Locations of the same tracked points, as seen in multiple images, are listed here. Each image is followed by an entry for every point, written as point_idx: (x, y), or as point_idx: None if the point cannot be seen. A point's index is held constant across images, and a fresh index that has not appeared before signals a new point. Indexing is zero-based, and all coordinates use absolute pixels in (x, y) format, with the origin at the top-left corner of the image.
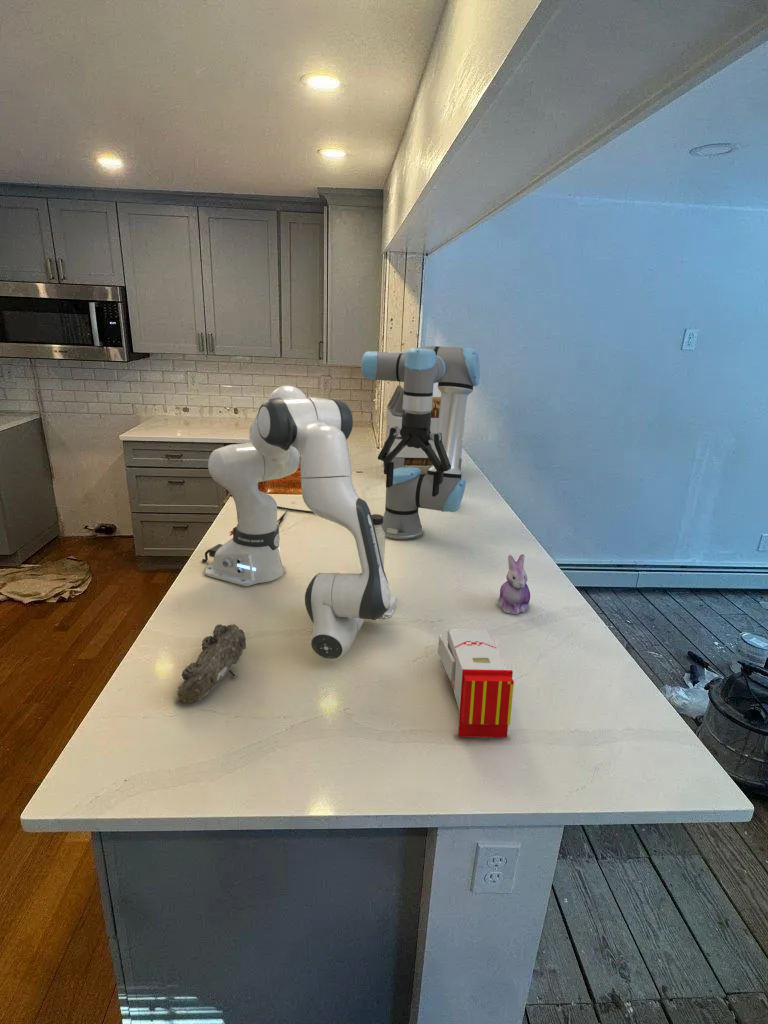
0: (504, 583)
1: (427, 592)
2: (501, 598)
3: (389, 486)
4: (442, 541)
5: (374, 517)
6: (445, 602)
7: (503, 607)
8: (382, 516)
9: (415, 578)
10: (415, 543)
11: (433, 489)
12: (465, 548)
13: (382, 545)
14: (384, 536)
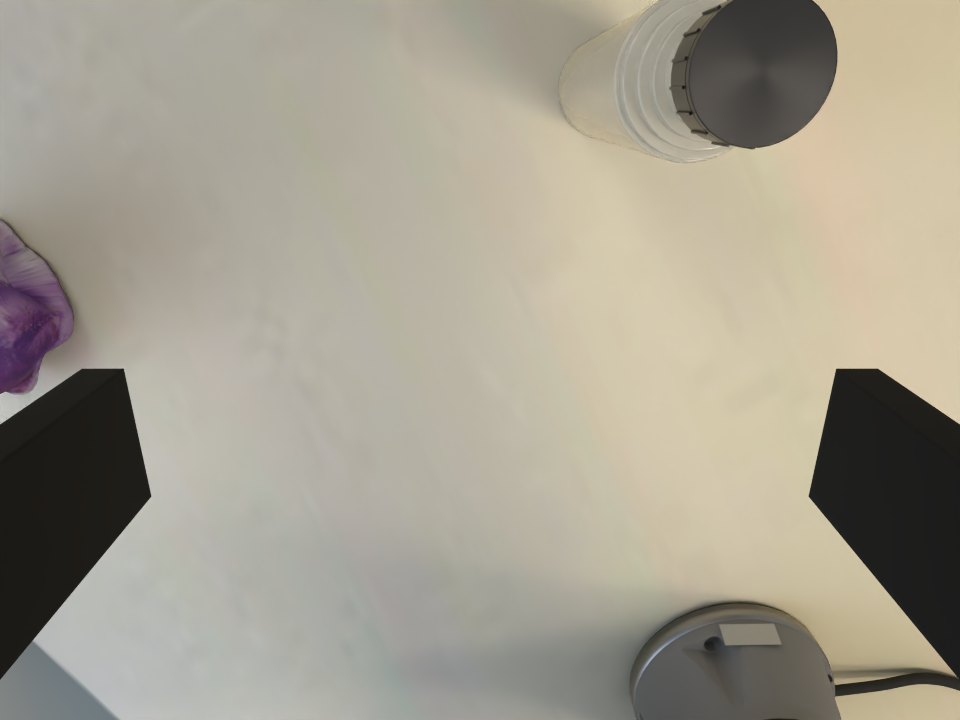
0: (4, 339)
1: (371, 213)
2: (31, 284)
3: (833, 406)
4: (526, 681)
5: (771, 27)
6: (257, 166)
7: (8, 237)
8: (703, 111)
9: (479, 313)
10: (622, 615)
11: (46, 416)
12: (416, 668)
13: (606, 59)
14: (620, 97)
